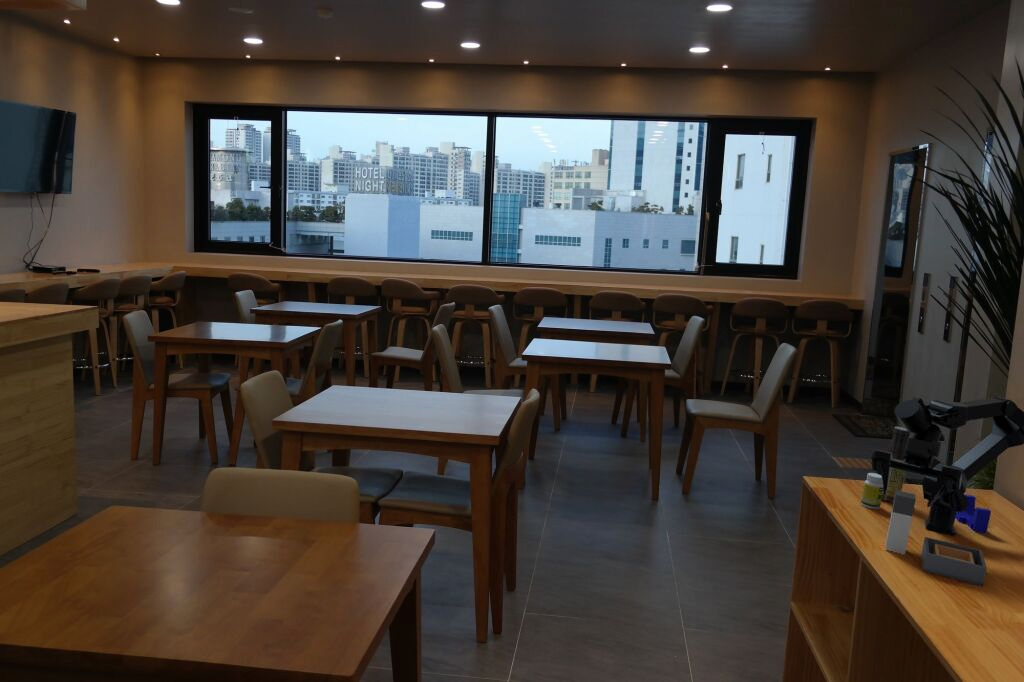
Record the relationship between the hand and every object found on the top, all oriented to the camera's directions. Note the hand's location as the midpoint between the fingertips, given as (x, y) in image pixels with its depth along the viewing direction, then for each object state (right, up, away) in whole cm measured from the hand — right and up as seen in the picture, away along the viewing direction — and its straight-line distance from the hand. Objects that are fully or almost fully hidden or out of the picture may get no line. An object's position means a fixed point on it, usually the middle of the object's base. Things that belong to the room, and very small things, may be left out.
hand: (906, 500), depth 185 cm
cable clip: (+26, -11, +22) cm, 36 cm away
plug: (-3, -11, -2) cm, 11 cm away
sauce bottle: (+12, -7, +35) cm, 38 cm away
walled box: (+5, -13, -10) cm, 17 cm away
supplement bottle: (+4, -7, +28) cm, 29 cm away
